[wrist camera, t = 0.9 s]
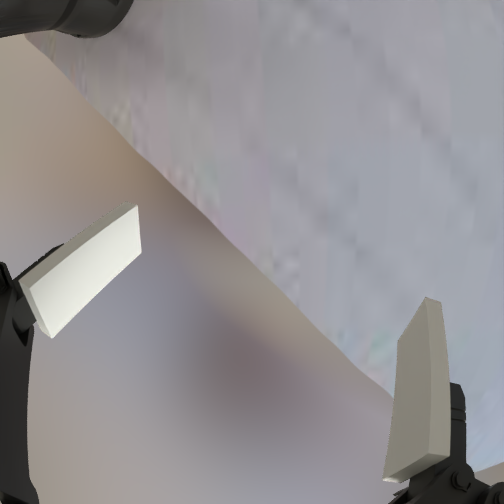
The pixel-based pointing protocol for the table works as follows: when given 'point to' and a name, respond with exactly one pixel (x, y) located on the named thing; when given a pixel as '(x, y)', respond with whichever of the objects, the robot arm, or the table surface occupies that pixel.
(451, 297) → the table surface
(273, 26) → the table surface
